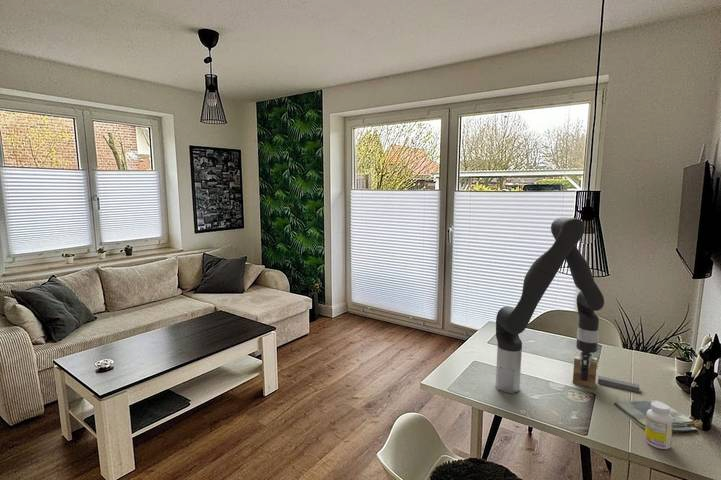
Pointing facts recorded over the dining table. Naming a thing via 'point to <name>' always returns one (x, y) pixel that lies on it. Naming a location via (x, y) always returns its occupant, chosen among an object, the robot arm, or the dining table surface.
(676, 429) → the dish towel
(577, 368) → the walnut slab
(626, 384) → the rail
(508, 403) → the dining table surface
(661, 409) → the supplement bottle
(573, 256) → the robot arm
